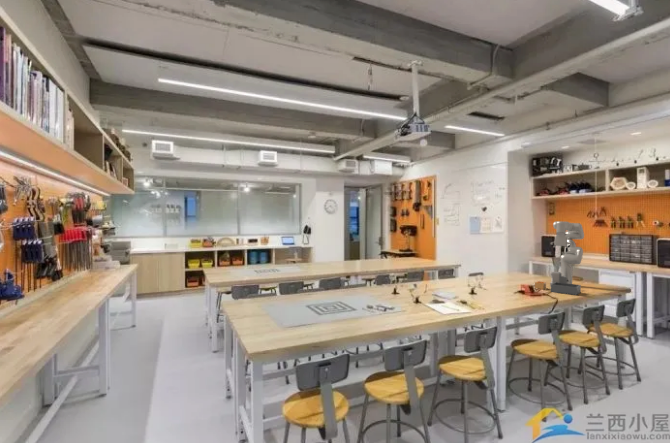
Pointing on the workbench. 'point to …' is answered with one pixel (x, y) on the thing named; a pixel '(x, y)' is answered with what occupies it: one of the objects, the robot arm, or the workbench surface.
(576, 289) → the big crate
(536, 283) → the small crate
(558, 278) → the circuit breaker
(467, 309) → the workbench surface
